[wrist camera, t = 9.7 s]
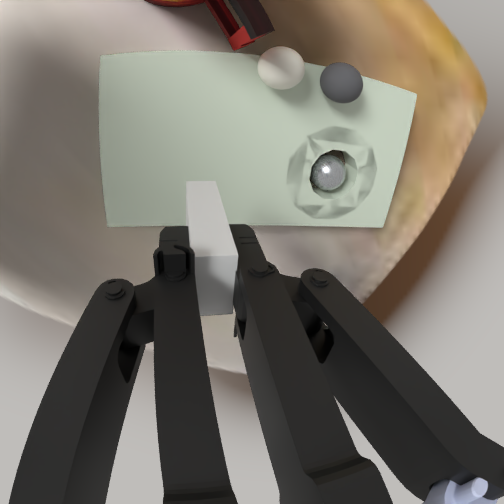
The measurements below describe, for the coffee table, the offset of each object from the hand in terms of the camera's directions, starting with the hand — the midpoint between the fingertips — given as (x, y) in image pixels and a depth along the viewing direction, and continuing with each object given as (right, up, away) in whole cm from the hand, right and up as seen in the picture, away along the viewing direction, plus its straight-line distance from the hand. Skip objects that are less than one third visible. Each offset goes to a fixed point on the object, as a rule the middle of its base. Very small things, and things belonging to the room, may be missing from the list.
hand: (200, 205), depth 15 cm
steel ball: (+9, +5, +10) cm, 14 cm away
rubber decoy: (+9, +10, +3) cm, 14 cm away
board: (+4, +7, +9) cm, 12 cm away
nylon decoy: (+5, +10, +2) cm, 11 cm away
